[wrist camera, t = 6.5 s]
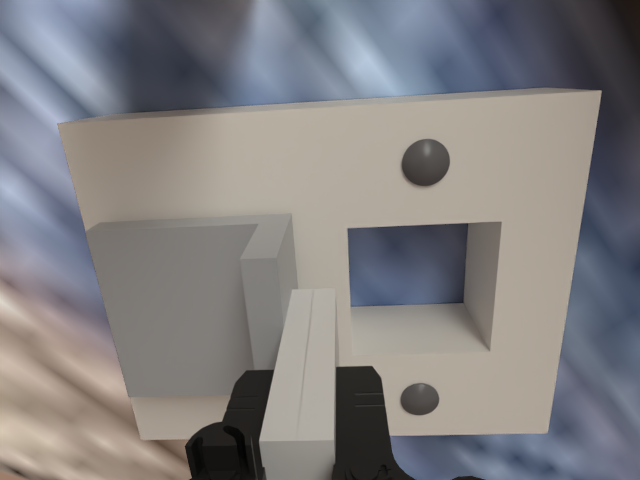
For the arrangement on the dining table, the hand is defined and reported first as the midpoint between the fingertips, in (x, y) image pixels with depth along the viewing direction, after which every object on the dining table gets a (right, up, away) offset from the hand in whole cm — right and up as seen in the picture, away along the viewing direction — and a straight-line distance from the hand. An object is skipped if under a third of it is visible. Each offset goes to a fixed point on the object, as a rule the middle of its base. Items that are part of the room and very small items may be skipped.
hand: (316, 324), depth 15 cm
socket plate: (+1, +2, +5) cm, 6 cm away
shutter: (-4, 0, +2) cm, 4 cm away
